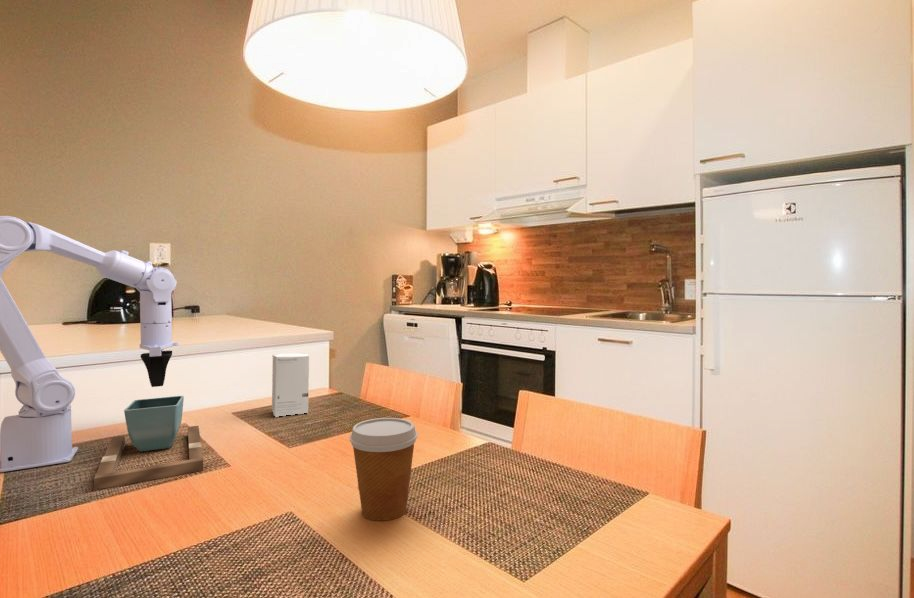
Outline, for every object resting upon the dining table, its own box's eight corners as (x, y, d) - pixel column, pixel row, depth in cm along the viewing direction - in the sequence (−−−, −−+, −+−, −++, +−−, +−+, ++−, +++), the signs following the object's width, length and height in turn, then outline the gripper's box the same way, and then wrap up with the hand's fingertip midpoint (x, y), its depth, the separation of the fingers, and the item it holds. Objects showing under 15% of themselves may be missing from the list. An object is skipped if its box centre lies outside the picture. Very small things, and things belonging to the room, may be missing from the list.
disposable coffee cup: (388, 534, 59) (387, 441, 59) (335, 515, 64) (334, 429, 64) (431, 504, 67) (430, 423, 67) (381, 489, 72) (380, 413, 72)
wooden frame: (94, 490, 73) (93, 476, 73) (112, 446, 93) (112, 435, 93) (203, 470, 80) (203, 458, 80) (198, 433, 100) (198, 424, 100)
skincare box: (274, 418, 112) (273, 357, 112) (271, 412, 118) (270, 353, 117) (310, 413, 116) (309, 354, 116) (305, 408, 122) (305, 351, 121)
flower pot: (124, 457, 87) (123, 409, 86) (135, 443, 95) (134, 399, 94) (178, 451, 90) (177, 405, 90) (184, 437, 98) (184, 395, 98)
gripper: (177, 324, 96) (178, 389, 96) (178, 320, 109) (179, 378, 109) (136, 326, 92) (137, 393, 93) (141, 321, 105) (142, 381, 105)
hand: (157, 385), depth 101 cm, fingers closed
